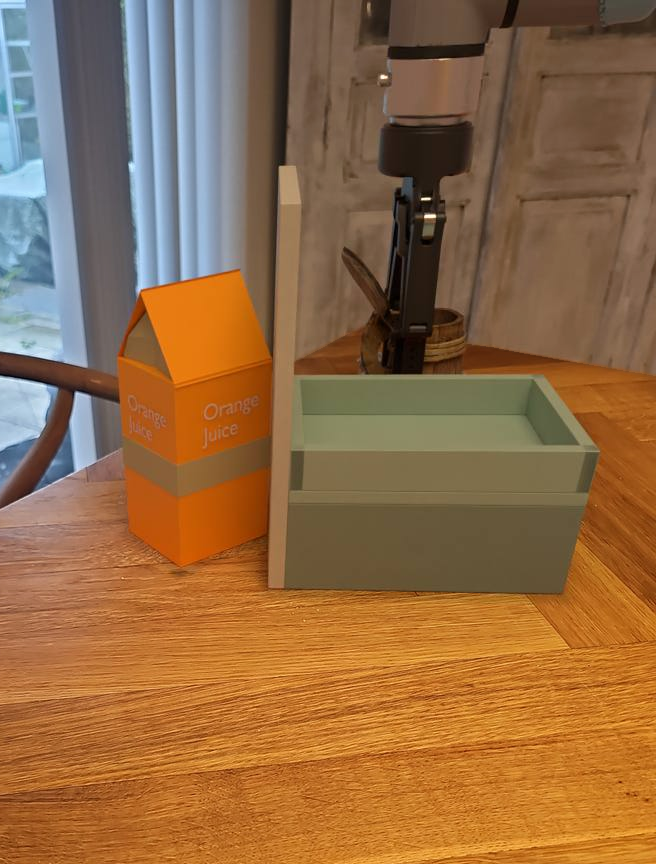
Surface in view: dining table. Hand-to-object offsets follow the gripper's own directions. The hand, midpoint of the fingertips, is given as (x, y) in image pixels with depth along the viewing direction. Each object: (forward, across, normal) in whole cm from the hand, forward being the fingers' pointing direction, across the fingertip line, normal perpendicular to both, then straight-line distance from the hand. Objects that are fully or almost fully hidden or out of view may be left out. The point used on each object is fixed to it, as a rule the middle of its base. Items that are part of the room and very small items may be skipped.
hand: (398, 391), depth 85 cm
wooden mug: (+4, 0, 0) cm, 4 cm away
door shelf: (+4, +22, -1) cm, 22 cm away
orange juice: (+4, +21, -18) cm, 28 cm away
